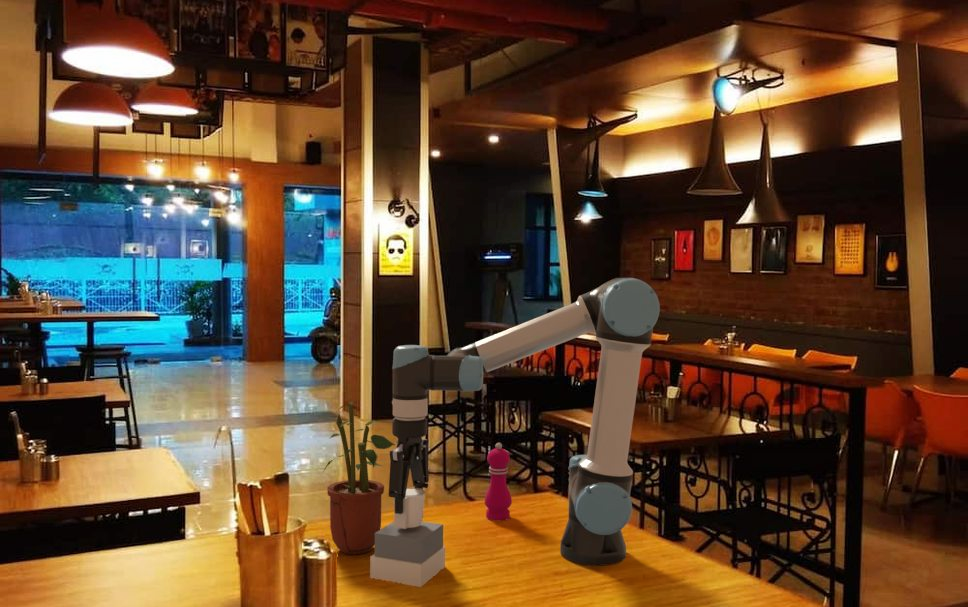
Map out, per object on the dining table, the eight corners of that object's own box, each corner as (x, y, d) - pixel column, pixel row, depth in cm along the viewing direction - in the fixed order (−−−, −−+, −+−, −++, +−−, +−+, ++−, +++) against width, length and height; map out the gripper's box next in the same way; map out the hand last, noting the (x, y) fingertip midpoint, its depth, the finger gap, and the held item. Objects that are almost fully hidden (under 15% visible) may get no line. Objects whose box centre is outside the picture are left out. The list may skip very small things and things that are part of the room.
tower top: (443, 546, 176) (443, 524, 176) (421, 563, 166) (421, 540, 165) (398, 540, 180) (398, 518, 180) (374, 556, 170) (374, 533, 170)
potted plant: (368, 563, 178) (368, 408, 176) (307, 554, 183) (307, 403, 181) (400, 538, 194) (401, 396, 193) (344, 530, 199) (344, 392, 198)
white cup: (409, 530, 168) (410, 498, 168) (386, 523, 172) (386, 492, 172) (431, 522, 173) (431, 491, 173) (407, 516, 177) (408, 485, 177)
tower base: (444, 568, 176) (445, 546, 176) (420, 588, 165) (420, 565, 165) (397, 560, 181) (397, 538, 181) (370, 579, 170) (370, 556, 170)
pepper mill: (482, 520, 208) (483, 445, 207) (486, 512, 216) (487, 439, 215) (509, 522, 207) (510, 446, 206) (513, 514, 214) (514, 440, 213)
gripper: (415, 408, 182) (414, 507, 183) (371, 423, 164) (370, 533, 165) (445, 411, 179) (444, 511, 180) (403, 427, 161) (402, 539, 162)
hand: (409, 522), depth 173 cm, fingers closed on white cup, 7 cm apart
